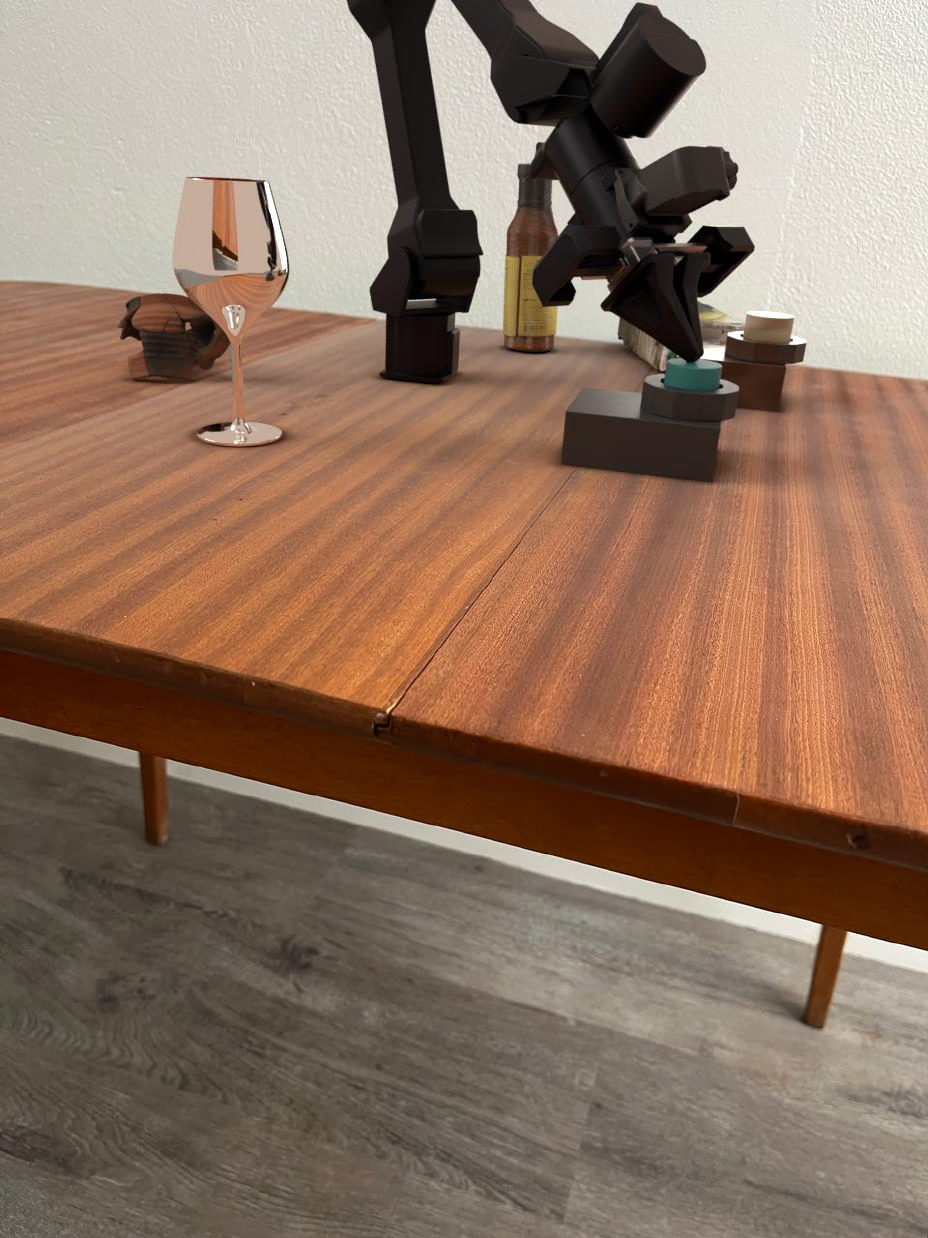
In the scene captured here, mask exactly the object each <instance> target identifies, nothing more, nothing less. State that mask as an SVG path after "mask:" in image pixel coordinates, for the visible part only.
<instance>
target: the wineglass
mask: <svg viewBox="0 0 928 1238" xmlns="http://www.w3.org/2000/svg"><path fill="white" fill-rule="evenodd" d="M178 207H179V208H178V213H177V219H176V224H175V230H174V236H173V243H172V253H171V255H172V256H171V257H172V260H171V261H172V269H173V273H174V276H175V278H176V279H175V280H176V281H177V283H178V285H179V286H180V288H181V290H182V291H183V292H184V293H185V296H186V297H189V298H190V299H191V300H192V301H193V302H194V303H195V304H196V305H197V306H198V307H199V308H200V309H201V310H202V311H203V312H205V313H206V314H207V315H208V316H209V317H210V318H211V319H212V320H214V321H215V322H216V323H217V324H218V325H219V326H220V327H221V329H222V330H223V331H224V332H225V334H226V335H227V337H228V339H229V341H230V345H229V347H230V348H229V349H230V364H231V365H230V366H231V380H232V381H231V384H232V420H231V421H226V422H217V423H212V424H208V425H205V426H203V427H200V428H199V429H198V430H197V432H196V436H197V438H198V439H199V440H200V441H202V442H205V443H207V444H212V445H216V446H225V447H252V446H253V447H254V446H261V445H262V446H263V445H267V444H270V443H274V442H277V441H278V440H280V439H281V438H282V436H283V431H282V430H281V429H280V428H278V427H277V426H274V425H271V424H268V423H262V422H254V421H247V418H246V411H245V409H246V408H245V397H244V396H245V395H244V377H243V376H244V375H243V354H242V353H243V352H242V351H243V349H242V342H243V339H244V337H245V335H246V334H247V332H248V331H249V329H250V328H251V327H252V325H254V324H255V323H256V322H257V321H258V320H259V319H260V318H261V317H262V316H263V315H264V314H265V313H266V312H268V310H269V309H270V308H272V306H273V305H274V304H275V303H276V302H277V301H278V300H279V299H280V297H281V296H282V294H283V292H284V291H285V289H286V287H287V286H288V282H289V278H290V274H291V259H290V252H289V248H288V243H287V238H286V235H285V230H284V227H283V223H282V220H281V216H280V212H279V208H278V204H277V201H276V197H275V194H274V189H273V187H272V184H271V181H270V180H264V179H256V178H255V179H254V178H253V179H252V178H241V177H240V178H239V177H237V178H236V177H218V176H217V177H216V176H185V177H184V182H183V186H182V192H181V196H180V202H179V206H178Z"/></svg>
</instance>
